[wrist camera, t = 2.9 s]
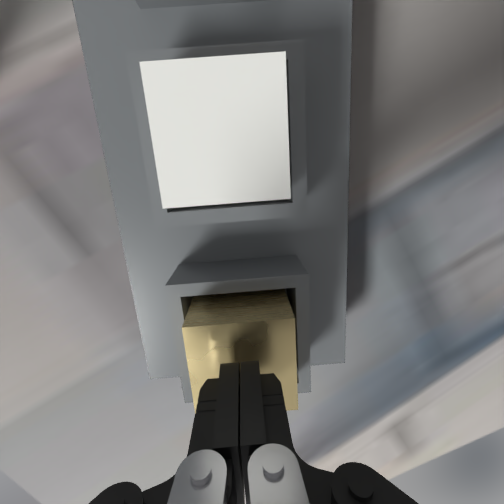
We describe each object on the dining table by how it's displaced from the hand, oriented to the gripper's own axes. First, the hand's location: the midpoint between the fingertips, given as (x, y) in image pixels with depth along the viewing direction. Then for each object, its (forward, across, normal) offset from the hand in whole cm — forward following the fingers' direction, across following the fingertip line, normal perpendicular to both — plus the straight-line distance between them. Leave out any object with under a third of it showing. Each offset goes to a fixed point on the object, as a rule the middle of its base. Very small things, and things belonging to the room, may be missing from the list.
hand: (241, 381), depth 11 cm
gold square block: (+4, 0, 0) cm, 4 cm away
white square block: (+4, 0, -9) cm, 10 cm away
